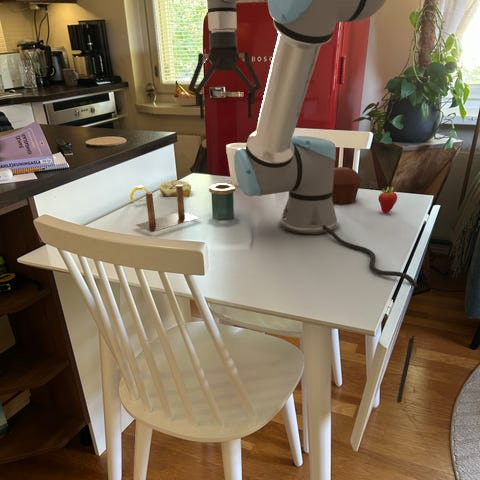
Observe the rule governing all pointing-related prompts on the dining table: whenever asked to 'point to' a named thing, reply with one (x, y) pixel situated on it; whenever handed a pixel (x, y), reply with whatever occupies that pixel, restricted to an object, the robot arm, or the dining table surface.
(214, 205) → the spool
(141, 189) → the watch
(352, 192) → the muffin
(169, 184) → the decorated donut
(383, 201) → the fruit
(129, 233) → the dining table surface
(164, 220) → the spool stand
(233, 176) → the foam cup
